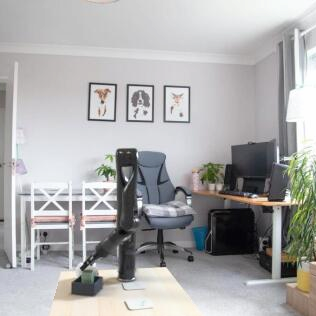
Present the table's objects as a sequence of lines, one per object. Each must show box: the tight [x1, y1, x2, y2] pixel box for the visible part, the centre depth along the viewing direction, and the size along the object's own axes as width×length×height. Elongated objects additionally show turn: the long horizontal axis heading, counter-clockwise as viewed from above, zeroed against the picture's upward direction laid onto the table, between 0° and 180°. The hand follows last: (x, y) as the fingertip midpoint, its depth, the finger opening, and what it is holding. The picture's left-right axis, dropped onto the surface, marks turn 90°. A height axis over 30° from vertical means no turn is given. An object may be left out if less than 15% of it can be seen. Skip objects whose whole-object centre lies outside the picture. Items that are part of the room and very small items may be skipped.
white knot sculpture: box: [75, 261, 100, 278], centre depth 186 cm, size 11×12×9 cm
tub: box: [70, 275, 104, 297], centre depth 169 cm, size 12×12×6 cm
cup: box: [81, 269, 94, 284], centre depth 169 cm, size 6×6×9 cm
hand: (85, 267), depth 170 cm, fingers open, 8 cm apart
